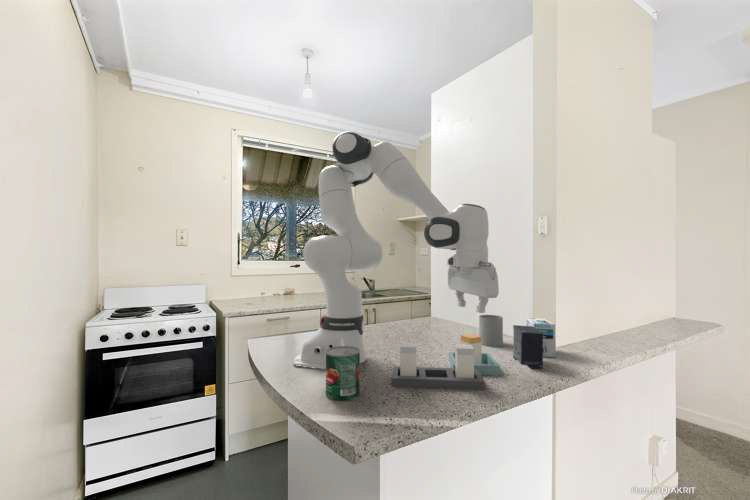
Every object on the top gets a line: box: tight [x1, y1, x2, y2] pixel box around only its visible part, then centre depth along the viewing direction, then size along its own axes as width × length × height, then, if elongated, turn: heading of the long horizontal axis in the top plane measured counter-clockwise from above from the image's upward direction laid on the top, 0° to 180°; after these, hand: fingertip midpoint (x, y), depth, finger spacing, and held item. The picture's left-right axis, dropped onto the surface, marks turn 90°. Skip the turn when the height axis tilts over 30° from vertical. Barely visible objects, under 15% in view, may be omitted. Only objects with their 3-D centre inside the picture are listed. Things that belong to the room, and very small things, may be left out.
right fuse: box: [454, 343, 474, 378], centre depth 86 cm, size 4×4×9 cm
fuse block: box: [391, 365, 486, 391], centre depth 87 cm, size 22×9×3 cm, turn 84°
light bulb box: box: [526, 317, 557, 358], centre depth 116 cm, size 11×7×11 cm, turn 168°
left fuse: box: [399, 342, 417, 376], centre depth 88 cm, size 4×4×9 cm
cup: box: [478, 314, 504, 348], centre depth 127 cm, size 8×8×10 cm
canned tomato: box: [325, 346, 361, 402], centre depth 79 cm, size 8×8×11 cm
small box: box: [512, 324, 544, 370], centre depth 105 cm, size 11×6×10 cm, turn 171°
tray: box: [448, 351, 501, 376], centre depth 98 cm, size 12×12×4 cm
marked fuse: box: [460, 333, 483, 364], centre depth 98 cm, size 4×4×9 cm
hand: (470, 309), depth 98 cm, fingers open, 8 cm apart
